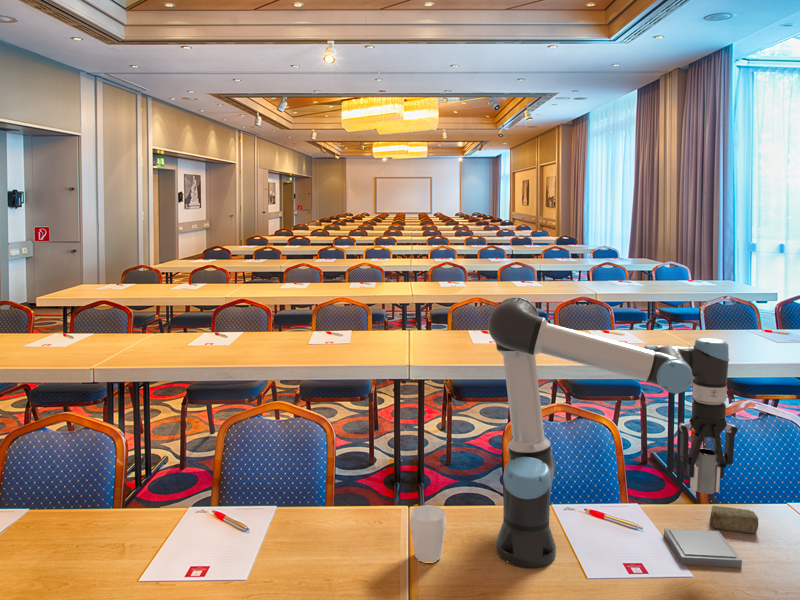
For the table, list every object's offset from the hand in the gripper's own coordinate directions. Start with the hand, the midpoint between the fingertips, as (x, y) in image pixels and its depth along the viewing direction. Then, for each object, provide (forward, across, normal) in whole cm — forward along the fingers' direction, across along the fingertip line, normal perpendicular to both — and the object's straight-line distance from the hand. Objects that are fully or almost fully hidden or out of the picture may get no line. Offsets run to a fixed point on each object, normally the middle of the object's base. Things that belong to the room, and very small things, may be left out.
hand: (704, 489), depth 152 cm
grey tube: (0, 0, 0) cm, 1 cm away
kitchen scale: (+17, 0, 0) cm, 17 cm away
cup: (+17, -70, -10) cm, 73 cm away
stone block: (+17, +13, +14) cm, 26 cm away
